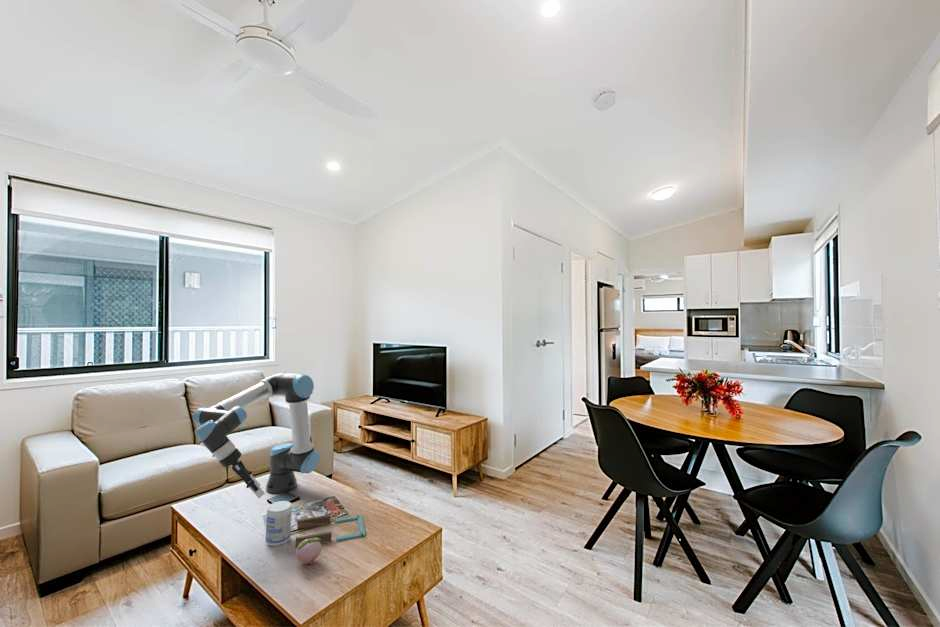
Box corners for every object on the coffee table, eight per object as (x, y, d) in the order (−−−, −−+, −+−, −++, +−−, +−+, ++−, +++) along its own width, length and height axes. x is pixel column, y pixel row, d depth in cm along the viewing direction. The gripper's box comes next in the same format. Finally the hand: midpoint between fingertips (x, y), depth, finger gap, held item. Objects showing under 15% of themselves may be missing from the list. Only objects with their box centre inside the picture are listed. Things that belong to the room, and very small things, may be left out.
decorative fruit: (313, 553, 157) (314, 528, 157) (324, 562, 152) (325, 536, 152) (290, 564, 150) (291, 538, 150) (301, 574, 145) (301, 547, 145)
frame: (334, 520, 182) (334, 519, 182) (361, 516, 186) (361, 514, 186) (336, 541, 166) (336, 539, 166) (365, 536, 170) (365, 534, 170)
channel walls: (297, 527, 176) (297, 519, 176) (330, 522, 181) (330, 514, 181) (295, 547, 161) (295, 539, 161) (331, 541, 166) (331, 533, 166)
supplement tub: (263, 548, 160) (264, 513, 159) (267, 535, 169) (268, 501, 169) (289, 545, 162) (290, 509, 162) (292, 532, 172) (293, 499, 171)
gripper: (217, 455, 169) (248, 490, 173) (219, 467, 148) (254, 507, 153) (233, 442, 172) (263, 477, 177) (238, 452, 152) (272, 492, 157)
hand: (259, 491), depth 165 cm, fingers open, 13 cm apart
